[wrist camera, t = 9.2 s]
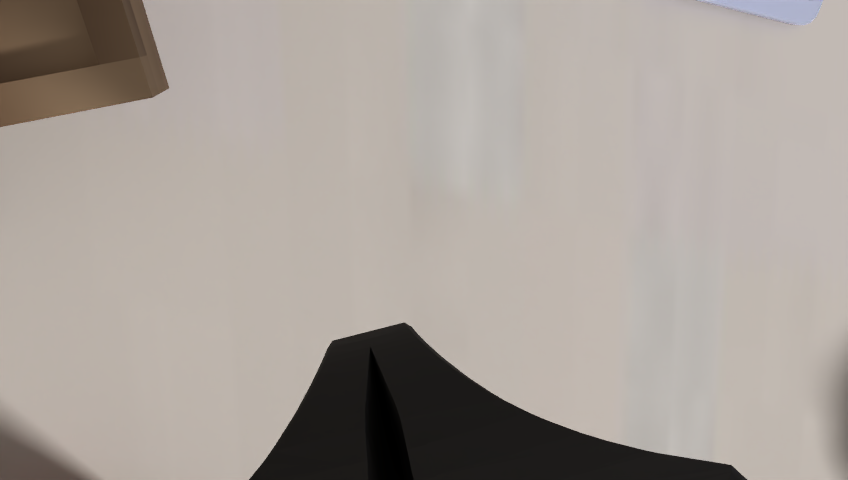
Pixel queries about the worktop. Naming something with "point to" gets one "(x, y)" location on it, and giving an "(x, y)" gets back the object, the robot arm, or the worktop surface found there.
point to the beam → (74, 57)
